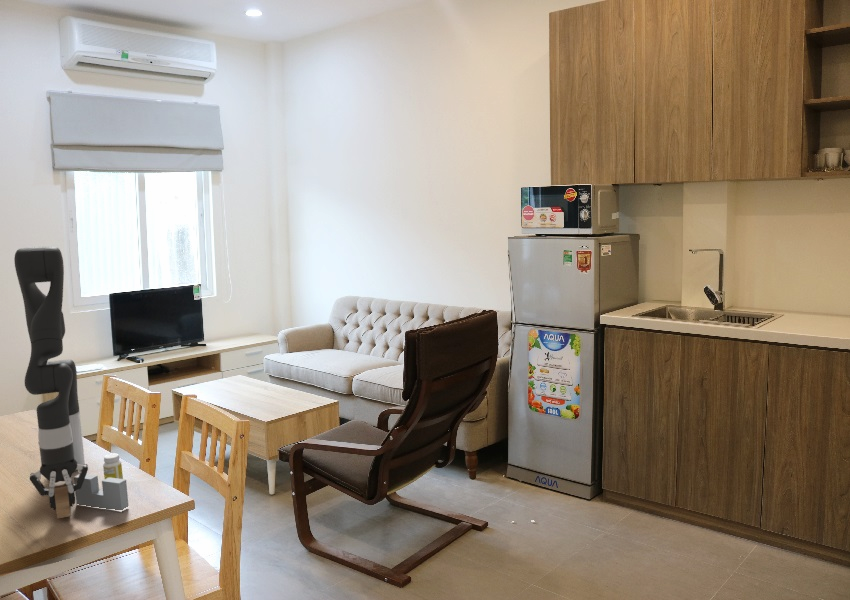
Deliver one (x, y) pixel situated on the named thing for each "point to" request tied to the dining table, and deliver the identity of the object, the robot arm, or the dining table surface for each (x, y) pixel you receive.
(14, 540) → the dining table surface
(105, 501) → the grey notched block
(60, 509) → the walnut plate
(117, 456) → the supplement bottle
